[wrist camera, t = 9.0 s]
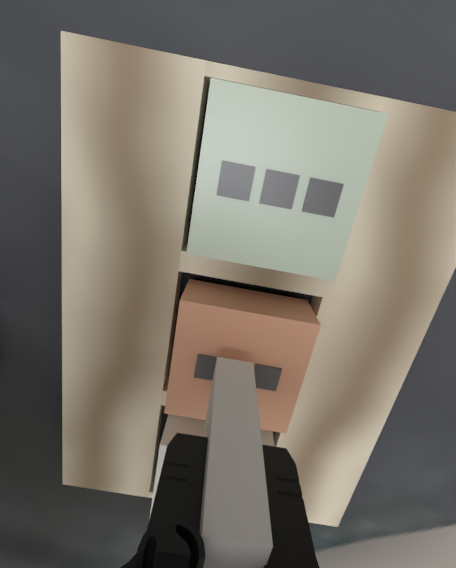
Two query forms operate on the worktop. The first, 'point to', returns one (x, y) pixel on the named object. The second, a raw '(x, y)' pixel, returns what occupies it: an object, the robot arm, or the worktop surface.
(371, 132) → the tile three
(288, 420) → the tile two
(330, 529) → the worktop surface
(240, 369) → the robot arm
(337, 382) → the board
